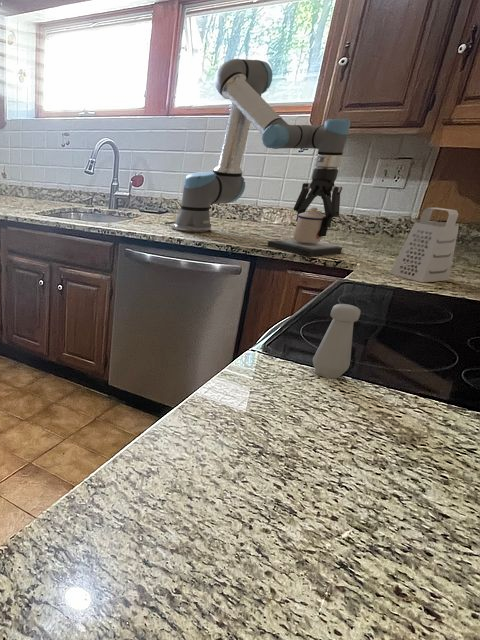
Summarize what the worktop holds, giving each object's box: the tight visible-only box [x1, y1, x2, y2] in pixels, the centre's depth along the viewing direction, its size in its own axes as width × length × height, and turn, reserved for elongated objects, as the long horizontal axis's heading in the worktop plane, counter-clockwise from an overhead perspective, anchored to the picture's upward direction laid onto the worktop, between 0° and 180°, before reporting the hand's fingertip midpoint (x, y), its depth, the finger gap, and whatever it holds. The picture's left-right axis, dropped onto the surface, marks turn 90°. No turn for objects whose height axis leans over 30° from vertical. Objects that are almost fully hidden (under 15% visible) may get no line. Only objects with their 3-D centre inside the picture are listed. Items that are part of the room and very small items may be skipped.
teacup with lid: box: [292, 207, 325, 243], centre depth 190 cm, size 12×9×12 cm
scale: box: [267, 238, 343, 258], centre depth 192 cm, size 18×16×2 cm
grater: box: [389, 207, 460, 283], centre depth 155 cm, size 10×10×20 cm
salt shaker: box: [312, 303, 361, 380], centre depth 93 cm, size 6×6×13 cm
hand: (309, 233), depth 190 cm, fingers closed on teacup with lid, 9 cm apart
